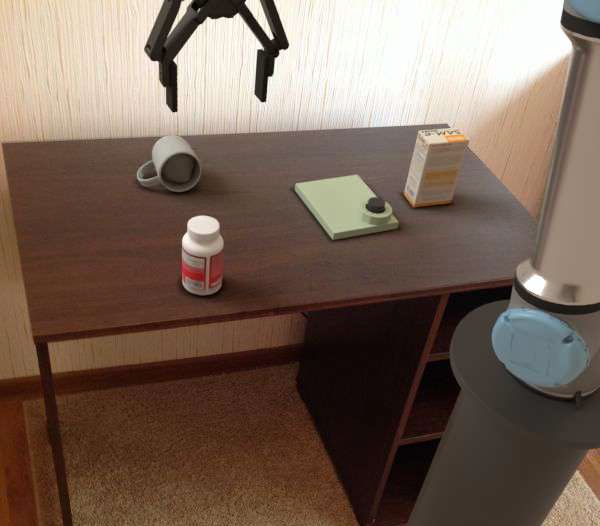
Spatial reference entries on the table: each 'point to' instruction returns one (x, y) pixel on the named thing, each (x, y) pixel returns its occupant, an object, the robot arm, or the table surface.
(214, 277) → the pill bottle
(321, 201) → the scale
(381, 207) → the button
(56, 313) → the table surface
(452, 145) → the supplement box
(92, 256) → the table surface
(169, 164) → the ceramic mug
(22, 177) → the table surface
